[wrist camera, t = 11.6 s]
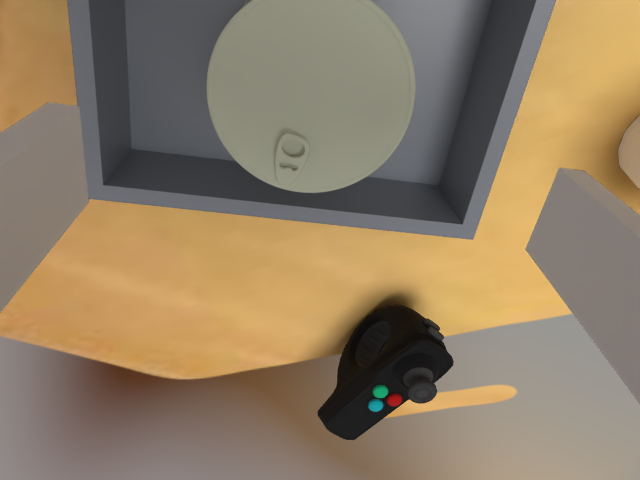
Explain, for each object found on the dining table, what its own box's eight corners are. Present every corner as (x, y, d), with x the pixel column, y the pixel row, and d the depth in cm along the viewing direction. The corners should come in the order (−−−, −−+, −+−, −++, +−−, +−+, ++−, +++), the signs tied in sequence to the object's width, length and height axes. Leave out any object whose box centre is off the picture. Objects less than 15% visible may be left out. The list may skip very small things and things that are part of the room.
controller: (437, 298, 44) (472, 385, 35) (343, 379, 48) (354, 473, 40) (402, 272, 42) (430, 357, 33) (309, 358, 47) (312, 452, 38)
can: (218, 96, 33) (183, 166, 23) (255, -58, 29) (232, -58, 18) (349, 138, 35) (371, 221, 24) (402, -1, 30) (457, 29, 20)
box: (527, -83, 29) (587, -90, 23) (444, 193, 38) (472, 239, 32) (103, -161, 27) (48, -192, 21) (121, 155, 36) (86, 198, 30)
